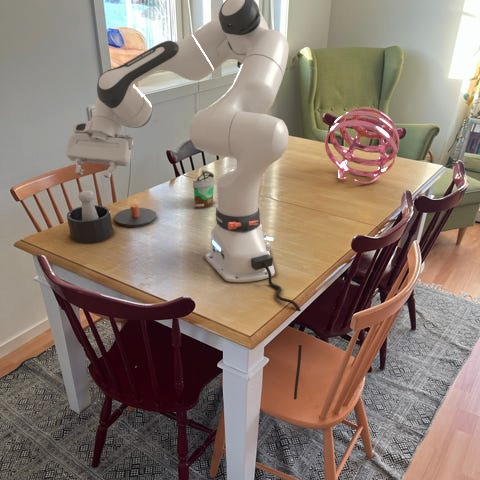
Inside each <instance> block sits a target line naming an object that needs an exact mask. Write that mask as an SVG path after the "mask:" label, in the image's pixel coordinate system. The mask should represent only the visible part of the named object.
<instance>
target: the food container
mask: <svg viewBox="0 0 480 480" xmlns="http://www.w3.org/2000/svg"><path fill="white" fill-rule="evenodd" d="M216 182H217V180H216V177H215V175H214V173H213V172H211V171H210V170H209V171H208V170H203V169H202V170H201V174H200V175H198V177H197V179H196V180H193V181H192V188H193V195H194V207H195V209H207V208H210V207H211V206H213V204H214V189H215V188H214V187H215V184H216Z"/></svg>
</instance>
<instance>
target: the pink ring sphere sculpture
mask: <svg viewBox="0 0 480 480" xmlns="http://www.w3.org/2000/svg"><path fill="white" fill-rule="evenodd" d="M360 116H363V117H367V118H372V119H373V120H377V121H379V122H381V123H382V124H383V125H384V126H383V128H382V127H381V126H379V125H377V124H375V123H372V122H370V121H365V120H362V119H361V120H360V119H359V118H360ZM349 117H352V118H351V119H350V120H347V119H348V118H349ZM347 127H348V128H349V127H352V128H353V130H354V131H355V132H356V133H357V135H356V137H354V138H353V137H352V136H351V135H350V133H349V132H348V131H347ZM337 130H339V132H340V135H341V138H343V140H344V141H345V142H346V143H347V144H348V148H347V149H344V147H342V146H341V145H340V143H339V142H338V140H337V138H336V134H335V131H337ZM390 130H391V132H392V136H391V134H389V132H390ZM329 138H330V139H329ZM361 138H365V139H366V138H367V139H370V140H377V139H378V140H379V145H368V144H364V143H361V142H360V140H361ZM329 140H330V143H331V145H332V147H333V148H334V150H335V151H336V152H337V153H338V154H339V155H340V156H341V158H342V160H341V161H340V160H339V159H337V157H335V155H334V153H332V151H331V149H330V146H329ZM384 140H385V141H386V142H385V141H384ZM400 141H401V140H400V136H399V132H398V130H397V126H396V124H395V123H394V121H393V120H392V118H391V117H389V115H387V114H386V113H384V112H383V111H381V110H379V109H377V108H373V107H357V108H353V109H350V110H349V111H347V112H346V113H344V114H342V115H340V116H339V117H338V118H336V119H335V121H334V122H333V124H332V125H331V128H330V129H329V131H328V132H327V134H326V136H325V140H324V147H325V152H326V154H327V156H328V158H329V159H330V160H331V162H332V163H333V164H334V165H335V166H336V167H337V168H338V172H337V177H338V179H339V181H342V182H345V181H346V180H347V177H344V174H345V173H349V174H351V175H354V176H360V177H372V178H371V179H370V180H369V181H361V180H358V179H355V178H354V179H353V181H354V182H355V183H357V184H359V185H363V186H364V185H370V184H372V183H374V182H376V181H377V180H378V179H379V178H380V176H382V175H383V174H385V173H387V172H388V171H389V170H390V169H391V168H393V166H394V164H395V163H396V161H397V159H398V158H397V157H398V152H399V150H400V146H401V145H400ZM390 148H391V150H392V153H390V154H389V155H387V151H388V150H389V149H390ZM356 150H358V151H361V152H364V153H369V154H373V153H374V154H376V153H379V155H380V157H379V158H377V159H369V158H368V159H367V158H361V157H358V156H355V154H354V151H356ZM390 161H391V162H390ZM350 162H351V163H354V164H358V165H361V166H366V167H374V166H375V167H376V166H377V167H378V168H377V169H376V170H372V171H369V170H368V171H367V170H360V169H356V168H352V167H350V166H349V163H350ZM389 162H390V164H388V163H389ZM386 164H388V165H387V166H386ZM385 166H386V167H385Z"/></svg>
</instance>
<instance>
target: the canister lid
mask: <svg viewBox="0 0 480 480" xmlns="http://www.w3.org/2000/svg"><path fill="white" fill-rule="evenodd" d="M157 217H158V215H157V212H156V211H155V210H154V209H153V210H152V209H151V208H146V207H139V205H138V204H137V203H135V204H130V206H129V208H126V209H123V210H120V211H118V212H117V213H115V214H114V216H113V220H114V222H115V223H116V224H118V225H119V226H120V225H121V226H124V227H140V226H146V225H149V224H151V223H152V222H153V223H154V222H155V221H156V220H157Z"/></svg>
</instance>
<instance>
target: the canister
mask: <svg viewBox="0 0 480 480" xmlns="http://www.w3.org/2000/svg"><path fill="white" fill-rule="evenodd" d="M94 206H95V209H96V212H97V215H98V217H99V219H95V220H89V221H82V206H79V207H75V208H73V209H71V210H69V211H68V212H67V213H66V220H67V224H68V229H69V233H70V238H71V240H73V241H74V242H76V243H78V244H96V243H101V242H104V241H106V240H108V239H110V238H111V237H112V236H113V235H114V229H113V223H112V217H111V210H110V208H108V207H107V206H104V205H97V204H94Z"/></svg>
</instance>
